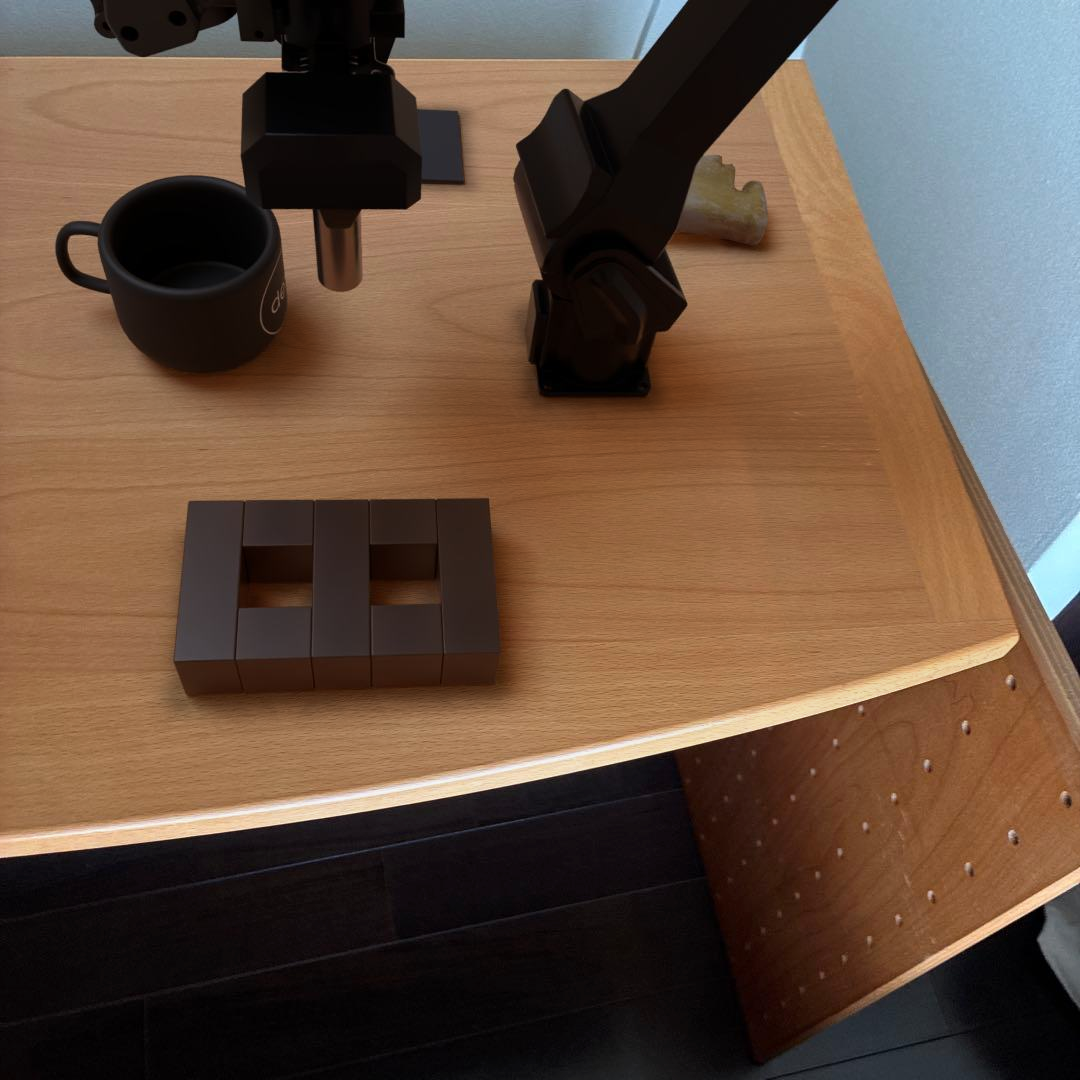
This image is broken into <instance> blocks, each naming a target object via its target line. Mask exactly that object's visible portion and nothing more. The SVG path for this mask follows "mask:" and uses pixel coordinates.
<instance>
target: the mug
mask: <svg viewBox="0 0 1080 1080" xmlns="http://www.w3.org/2000/svg"><path fill="white" fill-rule="evenodd" d="M72 236H88V237H95V238H97V251H98V255H99V260H100V262H101V265H102V266H101V267H102V269H103V272H104V274H105V278H101V277H97V276H94V275H90V274H88V273H85V272H83V271H81V270H79V269H78V268H76V267H75V265H74V264H73V261H72V260H71V257H70V254H69V240H70V238H71V237H72ZM54 250H55V257H56V261H57V264H58V267H59V269H60V271H61V272H62V275H64V277H65V278H66V279H67V280H68V281H69V282H71V283H72V284H74V285H77V286H78V287H81V288H84V289H86V290H91V291H93V292H98V293H102V294H105V295H106V294H107V295H110V296H111V300H112V303H113V306H114V310H115V314H116V317H117V320H118V322H119V324H120V326H121V329H122V331H123V332H124V334H125V335H126V337H127V339H128V340H129V341H130V342H131V344H133V345H134V346H135V347H136V349H137V350H138V351H139V352H141V353H142V354H144V355H145V356H146V357H147V358H149V359H150V360H152V361H153V362H155V363H157V364H158V365H161V366H163V367H165V368H167V369H170V370H173V371H175V372H180V373H185V374H194V375H210V374H218V373H219V374H220V373H224V372H225V373H226V372H229V371H232V370H235V369H238V368H241V367H243V366H245V365H248V364H249V363H251V362H252V361H254V360H255V359H257V358H258V357H260V356H261V355H262V354H263V353H264V352H266V351H267V350H268V349H269V347H270V346H271V344H273V343H274V341H275V339H276V338H277V336H278V335H279V333H280V331H281V329H282V327H283V324H284V322H285V320H286V315H287V309H288V292H287V283H286V273H285V263H284V256H283V245H282V236H281V229H280V225H279V222H278V219H277V217H276V216H275V213H274V212H273V209H262V208H260V207H259V206H257V205H256V204H254V203H253V202H251V201H250V200H248V199H247V197H246V190H245V185H244V186H243V185H241V184H239V183H237V182H234V181H231V180H229V179H225V178H220V177H216V176H210V175H201V174H200V175H199V174H184V175H174V176H166V177H163V178H157V179H155V180H152V181H148V182H145V183H143V184H141V185H139V186H136V187H135V188H132V189H131V190H129V191H127V192H126V193H125V194H123V195H121V196H120V197H119V198H118V199H117V200H116V201H115V202H114V203H113V204H112V205H111V206H110V207H109V208H108V210H107V211H106V212H105V214H104V215H103V218H102V220H101V222H100V223H99V222H95V221H89V220H73V221H69V222H67V223H65V224H64V225H63V226H62V227H61V228H60V229H59V231H58V232H57V235H56V238H55V244H54Z"/></svg>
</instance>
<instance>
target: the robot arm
mask: <svg viewBox="0 0 1080 1080" xmlns="http://www.w3.org/2000/svg"><path fill="white" fill-rule="evenodd" d="M839 1H840V0H687V1H685V3H684V4H683V6H682V7H681V8H680V10H679V11H678V12H677V14H676V15H675V16H674V17H673V19H672V20H671V21H670V23H669V24H668V25H667V26H666V28H665V29H664V31H662V33H661V34H660V36H659V37H658V38H657V39H656V41H655V42H654V43H653V45H652V46H651V47H650V48H649V50H648V51H647V52H646V53H645V54H644V56H643V57H642V59H640V61H639V62H638V64H637V65H636V67H635V68H634V69H633V71H631V73H630V74H629V76H628V77H627V78H626V79H625V80H624V81H623V82H622V83H621V84H620V85H619V86H617V87H615V88H612V89H610V90H608V91H604V92H602V93H600V94H598V95H595V96H593V97H590V98H588V99H585V100H583V99H582V98H580V97H579V96H578V95H577V94H575V93H574V92H573V91H572V90H571V89H569V88H562V89H560V91H558V93H557V94H556V95H554V97H553V98H552V100H551V103H550V104H549V106H548V108H547V110H546V112H545V114H544V116H543V117H542V119H541V121H540V122H539V123H538V124H537V126H536V127H535V128H534V129H533V130H532V131H531V132H530V133H529V134H527V135H526V136H525V137H523V138H522V139H521V140H519V141H518V142H516V144H515V148H516V152H517V155H518V158H519V161H518V162H517V163H516V164H517V165H516V166H515V168H514V172H513V176H512V180H513V188H514V192H515V193H514V194H515V197H516V201H517V204H518V207H519V210H520V213H521V217H522V221H523V222H524V225H525V230H526V232H527V236H528V238H529V241H530V245H531V248H532V251H533V254H534V257H535V261H536V264H537V267H538V270H539V273H540V276H541V279H535V280H533V282H532V283H531V287H530V293H529V300H528V307H527V313H526V320H525V326H524V336H525V343H526V353H527V354H526V355H527V361H528V363H529V364H530V365H531V366H534V369H535V378H536V387H537V392H538V394H539V395H541V396H542V397H544V398H648V396H650V394H651V391H652V382H651V376H650V371H649V366H648V363H649V360H650V356H651V353H652V351H653V346H654V343H655V340H656V336H657V333H665V332H668V331H669V330H670V329H672V326H674V324H675V323H676V322H677V321H678V319H679V318H680V316H681V315H682V314H683V313H684V311H685V310H686V309H687V307H688V300H687V299H686V295H685V293H684V291H683V289H682V286H681V284H680V281H679V279H678V276H677V274H676V271H675V269H674V265H673V264H672V261H671V259H670V256H669V254H668V251H667V249H666V247H667V246H668V245H669V243H670V241H671V240H672V239H673V237H674V235H675V234H676V233H677V232H678V231H677V228H678V226H679V222H680V219H681V216H682V212H683V209H684V206H685V202H686V199H687V196H688V192H689V189H690V186H691V182H692V179H693V176H694V172H695V169H696V167H697V164H698V162H699V161H700V159H701V158H702V156H705V154H706V153H707V152H708V151H709V149H710V148H711V147H712V146H713V145H714V144H715V142H716V141H717V140H718V139H719V138H720V137H721V136H722V135H723V133H725V131H727V129H728V128H729V127H730V125H732V123H733V122H735V120H736V119H737V118H738V117H739V115H740V114H741V113H742V112H743V111H744V109H745V108H746V107H747V106H748V105H749V104H750V102H751V101H752V100H753V99H754V98H755V97H756V96H757V95H758V93H759V92H760V91H761V90H762V89H763V88H764V86H765V85H766V84H767V83H769V81H770V80H771V79H772V77H774V76H775V74H776V73H777V72H778V71H779V70H780V68H781V67H782V66H783V65H784V64H785V62H787V61H788V60H789V58H790V57H791V56H792V54H793V53H794V52H796V51H797V49H798V48H799V47H800V45H801V44H802V43H803V42H804V41H805V40H806V39H807V38H808V37H809V35H810V34H811V33H812V32H813V31H814V30H815V29H816V27H817V26H818V25H819V24H820V23H821V21H823V19H824V18H825V17H826V16H827V15H828V14H829V12H831V10H832V9H833V8H834V7H835V6H836V4H837V3H838V2H839ZM89 2H90V3H91V5H92V8H93V13H94V19H93V27H94V30H95V31H96V32H97V34H99V35H100V36H101V37H103V38H105V39H109V40H110V39H111V40H113V39H114V40H115V39H116V40H117V42H118V43H119V45H120V46H121V48H122V49H123V50H124V51H125V52H127V53H129V54H131V55H134V56H136V57H138V58H139V57H140V58H148V57H150V56H154V55H157V54H160V53H163V52H166V51H170V50H172V49H176V48H180V47H183V46H186V45H189V44H192V43H194V42H196V40H197V39H198V37H199V36H198V35H199V33H200V32H202V31H205V30H208V29H212V28H215V27H218V26H220V25H222V24H223V25H224V24H225V23H226V22H228V21H230V20H231V19H232V18H233V17H235V16H237V17H236V18H237V24H238V33H239V39H240V42H245V43H246V42H249V43H250V42H253V43H274V42H277V43H278V44H279V45H281V47H280V49H281V52H280V53H281V58H280V59H281V60H280V62H281V65H280V69H281V71H265V72H264V73H263V74H262V75H261V76H260V77H259V78H258V79H257V80H255V81H254V82H253V83H252V84H251V85H250V86H249V87H248V88H247V89H246V90H245V91H243V93H242V95H241V96H242V97H241V124H240V125H241V126H240V127H241V128H240V131H241V132H240V134H241V135H240V162H241V169H242V175H243V181H244V182H243V183H244V187H245V190H246V197H247V199H248V200H250V201H251V202H253V203H254V204H256V205H257V206H259V207H260V208H262V209H271V210H312V209H319V211H320V214H321V216H322V218H323V221H324V223H325V226H326V227H327V228H330V229H348V228H350V227H351V226H352V225H353V223H354V222H355V220H356V218H357V217H358V215H359V213H360V212H361V213H362V210H379V211H381V210H385V211H386V210H391V211H392V210H401V211H402V210H408V209H410V208H411V207H413V206H414V205H415V204H416V203H418V202H420V201H421V200H422V183H421V181H422V152H421V142H420V132H419V122H418V112H417V109H418V104H417V102H418V101H417V97H416V96H415V95H414V94H413V93H412V92H411V91H410V90H409V89H407V88H406V87H405V86H404V85H403V84H402V83H401V82H400V81H399V80H398V79H397V78H396V71H395V69H394V68H393V67H392V66H391V65H389V64H388V61H389V58H390V56H391V52H392V50H393V48H394V45H395V41H396V40H397V39H406V8H405V0H89ZM642 388H643V389H642Z"/></svg>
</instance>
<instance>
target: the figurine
mask: <svg viewBox="0 0 1080 1080" xmlns="http://www.w3.org/2000/svg"><path fill="white" fill-rule="evenodd" d="M735 180H736V167H735V166H734V164H733V163H723V156H721V155H720V154H708V155H703V156H702V158H701V159H700V161H699V162H698V164H697V167H696V169H695V172H694V176H693V179H692V182H691V186H690V189H689V192H688V196H687V199H686V202H685V206H684V209H683V212H682V216H681V219H680V222H679V226H678V228H677V231H676V232H678V233H679V232H680V233H687V234H695V235H701V236H707V237H708V236H709V237H715V238H719V239H723V240H730V241H733V242H737V243H739V244H746V245H749V246H757V244H759V243H760V242H761V240H762V239H763V237H764V235H765V233H766V230H767V225H768V222H769V221H768V219H769V213H768V204H767V198H766V193H765V189H764V185H763V184H762V182H761V181H759V180H749V181H747V182H746V183H745V184H744V185H743V186H742V189H741V190H739V189H737V188H736V186H735Z"/></svg>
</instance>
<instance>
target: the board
mask: <svg viewBox="0 0 1080 1080" xmlns="http://www.w3.org/2000/svg"><path fill="white" fill-rule="evenodd" d="M186 509H187V510H186V521H185V531H184V542H183V551H182V553H183V554H182V562H181V563H182V564H181V572H180V573H181V575H180V584H179V595H178V604H177V605H178V606H177V616H176V617H177V618H176V628H175V639H174V649H173V660H172V661H173V664H174V667H175V669H176V672H177V675H178V677H179V680H180V683H181V686H182V689H183V691H184V694H185V695H186V696H188V695H189V696H193V695H194V696H195V695H221V694H223V695H224V694H225V695H226V694H243V693H244V694H260V693H263V694H265V693H289V692H314V691H339V690H342V691H343V690H368V689H397V688H398V689H399V688H426V687H427V688H429V687H463V686H491V685H496V681H497V676H498V671H499V666H500V661H501V656H502V641H501V627H500V614H499V603H498V602H499V601H498V589H497V579H496V565H495V554H494V553H495V552H494V541H493V540H494V539H493V529H492V516H491V515H492V514H491V503H490V498H489V497H465V498H464V497H453V498H452V497H451V498H450V497H449V498H448V497H447V498H446V497H443V498H371V499H368V498H365V499H364V498H360V499H359V498H357V499H356V498H354V499H351V498H350V499H348V498H347V499H344V498H343V499H246V500H242V499H239V500H237V499H236V500H233V499H232V500H231V499H230V500H189V501H188V502H187V508H186ZM434 580H435V597H436V598H435V600H436V602H435V603H409V604H407V603H405V604H401V603H399V604H371V603H372V602H371V601H372V600H371V599H372V598H371V595H372V594H371V593H372V592H371V586H372V585H371V582H391V581H392V582H393V581H394V582H395V581H398V582H399V581H434ZM295 583H296V584H300V583H311V605H305V606H302V605H301V606H300V605H299V606H263V607H261V606H259V607H258V606H256V607H254V606H253V607H249V605H250V604H249V603H250V587H251V584H252V585H253V584H295Z"/></svg>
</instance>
